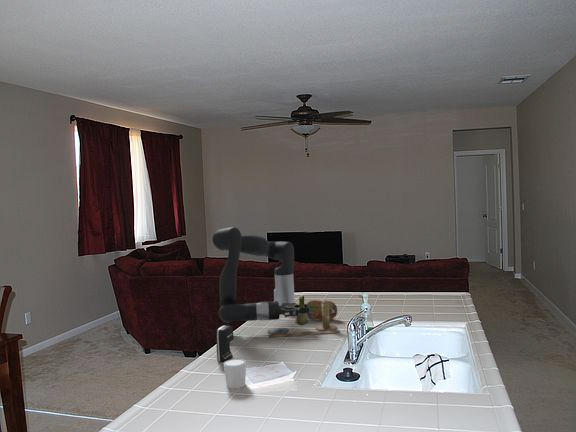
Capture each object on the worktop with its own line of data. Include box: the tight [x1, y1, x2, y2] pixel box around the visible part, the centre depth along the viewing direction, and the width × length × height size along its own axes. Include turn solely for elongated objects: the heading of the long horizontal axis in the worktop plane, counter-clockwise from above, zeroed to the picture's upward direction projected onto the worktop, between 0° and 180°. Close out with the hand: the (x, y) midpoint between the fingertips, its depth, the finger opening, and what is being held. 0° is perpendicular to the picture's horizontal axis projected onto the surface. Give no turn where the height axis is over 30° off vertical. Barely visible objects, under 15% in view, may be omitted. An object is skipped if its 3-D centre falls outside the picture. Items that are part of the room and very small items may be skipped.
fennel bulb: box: [296, 294, 309, 326], centre depth 214 cm, size 6×5×12 cm
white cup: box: [223, 358, 247, 390], centre depth 156 cm, size 7×7×7 cm
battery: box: [215, 325, 234, 362], centre depth 180 cm, size 7×4×11 cm, turn 158°
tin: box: [306, 300, 338, 321], centre depth 231 cm, size 15×3×8 cm, turn 62°
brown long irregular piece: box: [267, 299, 341, 339], centre depth 212 cm, size 29×12×12 cm, turn 95°
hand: (307, 308), depth 214 cm, fingers closed on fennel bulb, 6 cm apart
